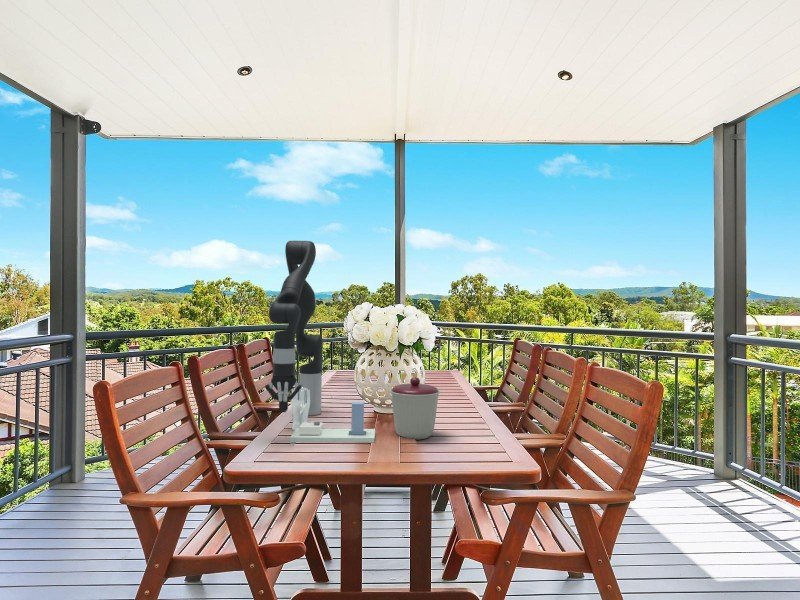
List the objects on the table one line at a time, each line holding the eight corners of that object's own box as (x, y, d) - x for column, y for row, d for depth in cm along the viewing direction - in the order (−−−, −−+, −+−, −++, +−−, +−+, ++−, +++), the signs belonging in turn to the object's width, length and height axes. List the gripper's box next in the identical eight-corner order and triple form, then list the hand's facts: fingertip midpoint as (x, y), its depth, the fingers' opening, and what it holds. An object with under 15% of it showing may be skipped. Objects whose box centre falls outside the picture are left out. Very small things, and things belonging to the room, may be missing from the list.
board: (296, 435, 187) (296, 428, 187) (375, 435, 188) (375, 428, 188) (290, 444, 175) (290, 437, 175) (374, 445, 176) (374, 437, 176)
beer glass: (286, 429, 195) (287, 389, 195) (298, 425, 201) (299, 386, 201) (301, 432, 192) (302, 391, 192) (313, 428, 198) (314, 388, 198)
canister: (382, 431, 194) (383, 374, 194) (428, 428, 200) (428, 372, 200) (398, 445, 177) (399, 382, 177) (447, 441, 183) (448, 380, 183)
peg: (351, 435, 184) (352, 401, 184) (363, 436, 184) (363, 401, 184) (351, 439, 180) (351, 403, 180) (363, 439, 180) (363, 404, 180)
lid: (302, 429, 185) (302, 419, 185) (322, 429, 185) (322, 420, 185) (299, 434, 178) (299, 424, 178) (319, 434, 178) (320, 424, 178)
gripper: (305, 360, 185) (304, 410, 185) (267, 360, 185) (266, 409, 185) (301, 363, 178) (301, 414, 178) (262, 362, 177) (261, 414, 177)
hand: (283, 411), depth 181 cm, fingers closed
